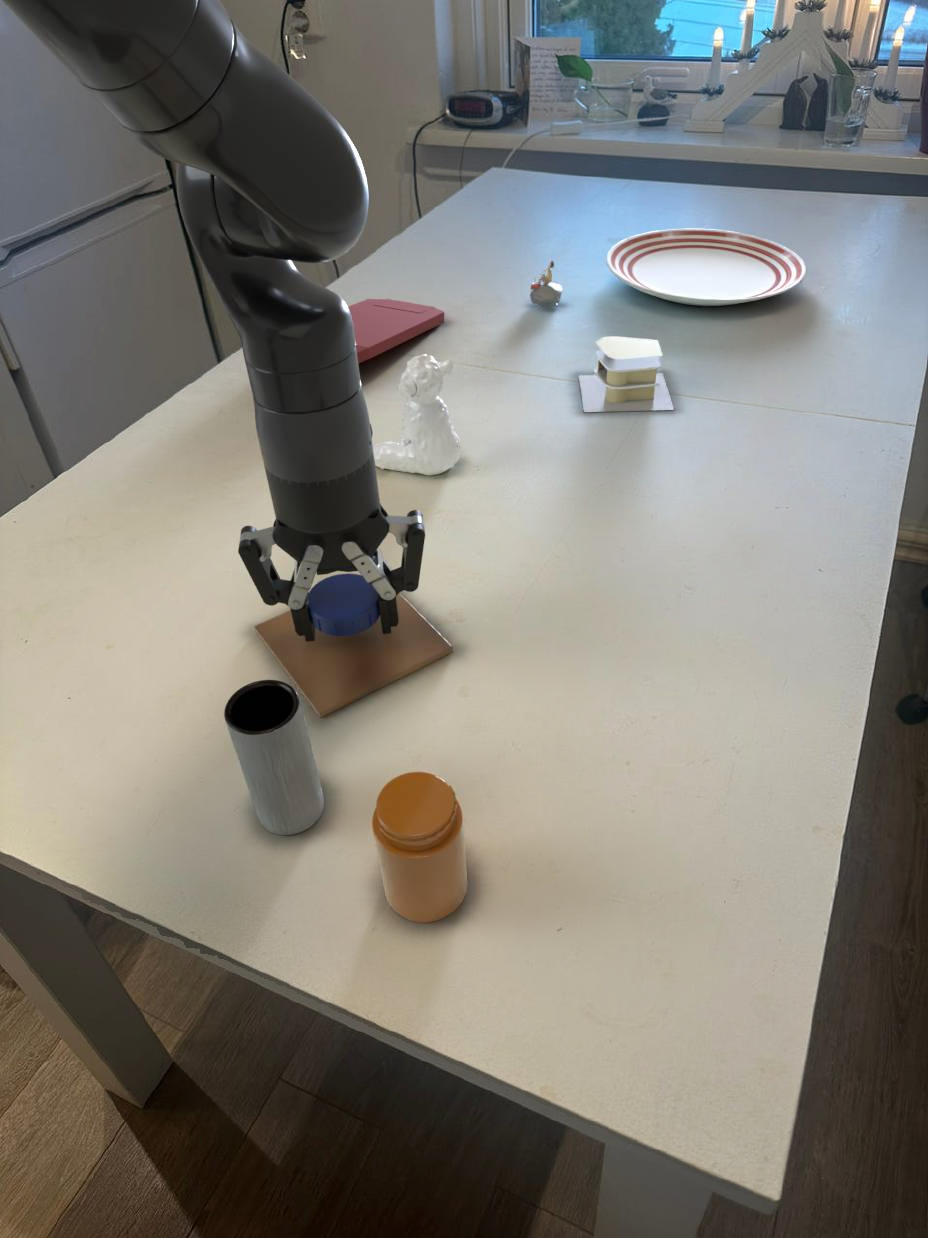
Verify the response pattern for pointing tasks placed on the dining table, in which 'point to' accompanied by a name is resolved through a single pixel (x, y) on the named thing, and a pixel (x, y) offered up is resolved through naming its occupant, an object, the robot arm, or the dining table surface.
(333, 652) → the cork coaster
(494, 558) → the dining table surface
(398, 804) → the honey jar
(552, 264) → the figurine
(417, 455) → the white creature statuette
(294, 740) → the grey tumbler
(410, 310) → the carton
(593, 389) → the stacked layers on plate
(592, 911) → the dining table surface
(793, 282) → the dinner plate
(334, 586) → the jar lid
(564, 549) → the dining table surface
